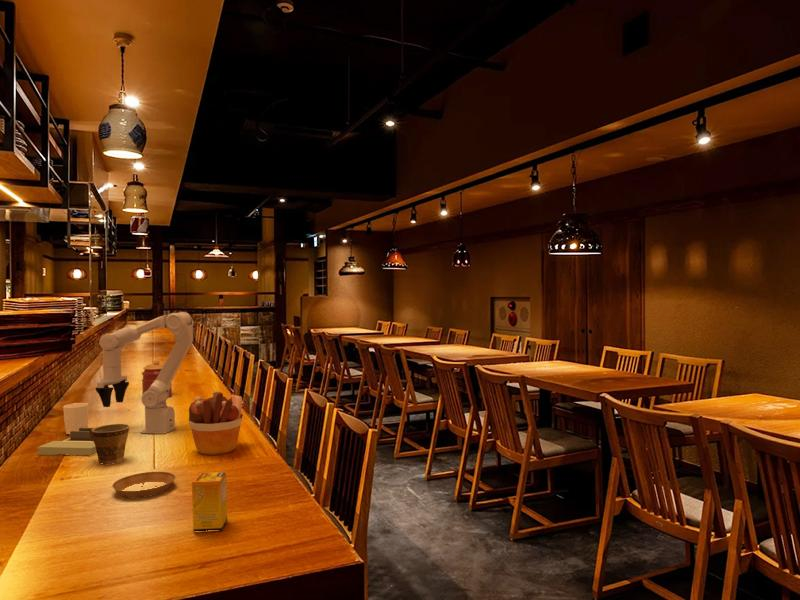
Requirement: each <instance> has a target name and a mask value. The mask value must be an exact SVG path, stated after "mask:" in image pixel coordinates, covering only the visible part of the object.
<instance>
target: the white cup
mask: <svg viewBox="0 0 800 600" xmlns="http://www.w3.org/2000/svg"><path fill="white" fill-rule="evenodd" d="M62 408H63V421H64V428H65V434H66V435H67V434H70V431H79V428H89V427H88V426H89V425H88V424H89V403H88V402H75V403H69V404H64V405H63V407H62Z"/></svg>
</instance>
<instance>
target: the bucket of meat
mask: <svg viewBox="0 0 800 600" xmlns="http://www.w3.org/2000/svg"><path fill="white" fill-rule="evenodd" d="M242 407H243V397H242V395H236V394H231V396H230V398H227V397H226V396H224V394H223V392H220V391H217V390H216V391H213V392H212V396H211V397H208V398H207V399H206V398H205V399H204V398H202V397H201V396H198V395H197V396H196V397H195V398H194V401H193V402H192V403H190V405H189V408H188V424H189V427H190V429H191V434H192V438H193V441H194V445H195V449H196V451H198V452H199V453H200V454H202V455H203V454H204V456H218V455H219V456H220V455H224V454H225V455H226V454H229V453H231V452H233V451H234V450H235V449H236V448H237V445H238V440H239V435H240V429H241V425H242V420H243V413H242V410H243V409H242Z"/></svg>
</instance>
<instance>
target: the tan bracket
mask: <svg viewBox="0 0 800 600" xmlns="http://www.w3.org/2000/svg"><path fill="white" fill-rule="evenodd" d="M95 453H97V451H96V446H95V444H94V441H70V437H68V438H66V439H63V440H52V441H50V442H47V443H44V444H42V445H40V446H37V455H38V456H55V455H54V454H68V455H93V454H95ZM95 455H96V454H95ZM93 456H94V455H93Z"/></svg>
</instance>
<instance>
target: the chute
mask: <svg viewBox="0 0 800 600" xmlns="http://www.w3.org/2000/svg"><path fill="white" fill-rule="evenodd" d="M94 428H95V427H88V428H79V431H70V435H69V436H70V437H69V438H70V441H94V440H93V439H92V438H91V436H90V430H91V429H94Z"/></svg>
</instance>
